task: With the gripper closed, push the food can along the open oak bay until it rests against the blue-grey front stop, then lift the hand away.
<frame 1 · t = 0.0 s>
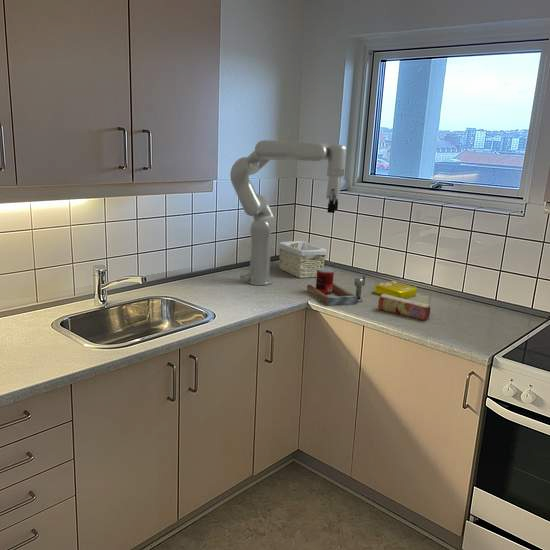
hand: (332, 211, 251), 37 cm above the worktop, tool pointing down, fingers open, 9 cm apart
element tile: (395, 295, 260), on the worktop
bay: (330, 296, 250), on the worktop
snack package: (403, 314, 232), on the worktop
canned food: (323, 292, 256), on the worktop
storage basket: (300, 273, 290), on the worktop
grey metal upright piece: (357, 300, 246), on the worktop
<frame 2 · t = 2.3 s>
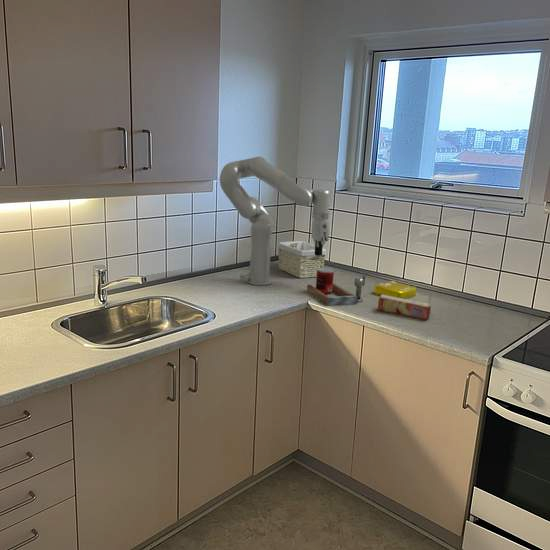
hand: (318, 254, 261), 16 cm above the worktop, tool pointing down, fingers closed
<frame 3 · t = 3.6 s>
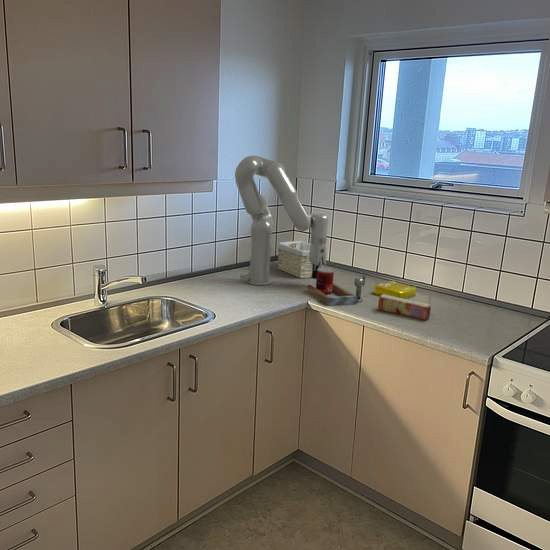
hand: (315, 278, 264), 4 cm above the worktop, tool pointing down, fingers closed
nothing on the worktop moved.
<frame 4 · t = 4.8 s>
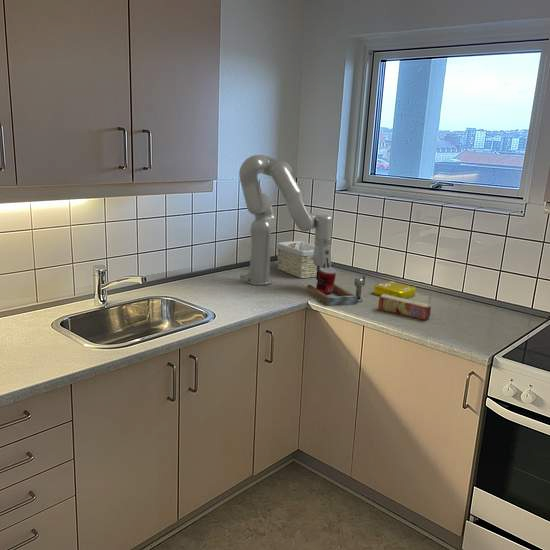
hand: (320, 280, 260), 4 cm above the worktop, tool pointing down, fingers closed
canned food: (323, 291, 256), on the worktop, touching gripper
everything else where it was.
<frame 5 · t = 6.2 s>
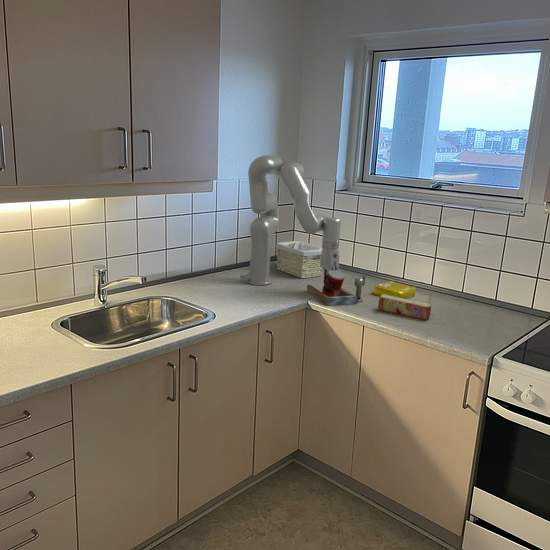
hand: (327, 284, 253), 5 cm above the worktop, tool pointing down, fingers closed
canned food: (329, 294, 250), point 1 cm above the worktop, touching gripper
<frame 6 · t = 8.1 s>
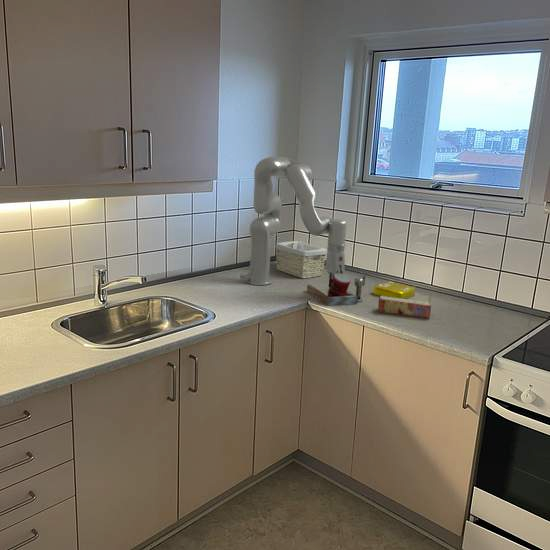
hand: (332, 287, 248), 5 cm above the worktop, tool pointing down, fingers closed
canned food: (335, 297, 245), point 1 cm above the worktop, touching gripper
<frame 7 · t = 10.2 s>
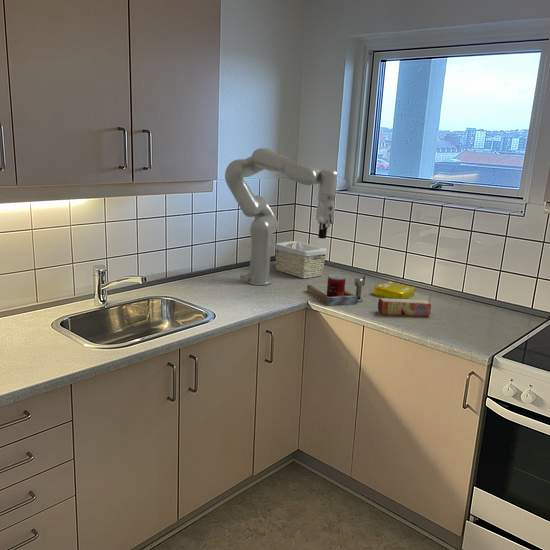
hand: (322, 238, 251), 25 cm above the worktop, tool pointing down, fingers closed
canned food: (334, 300, 245), on the worktop
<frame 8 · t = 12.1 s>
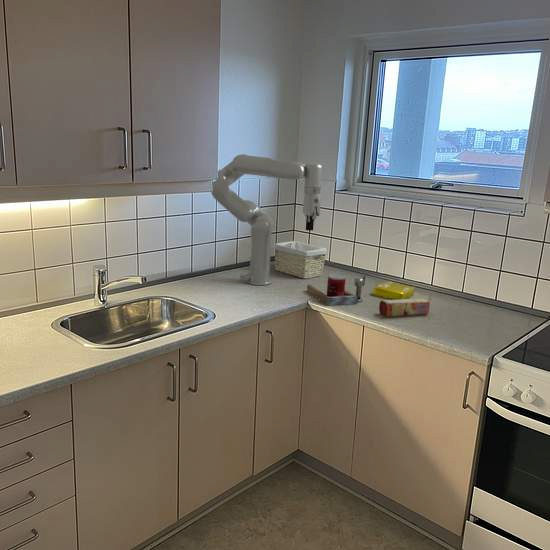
hand: (309, 230, 258), 27 cm above the worktop, tool pointing down, fingers closed
at the end: canned food inside the target area (2.2 cm from its centre), on the worktop; canned food tilted 0° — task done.
